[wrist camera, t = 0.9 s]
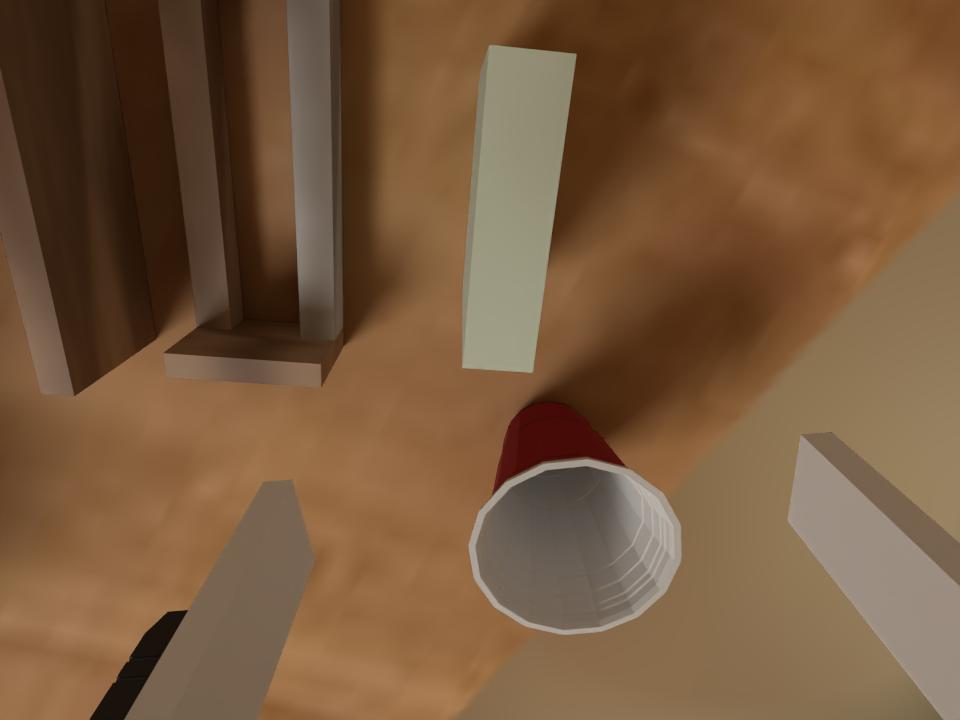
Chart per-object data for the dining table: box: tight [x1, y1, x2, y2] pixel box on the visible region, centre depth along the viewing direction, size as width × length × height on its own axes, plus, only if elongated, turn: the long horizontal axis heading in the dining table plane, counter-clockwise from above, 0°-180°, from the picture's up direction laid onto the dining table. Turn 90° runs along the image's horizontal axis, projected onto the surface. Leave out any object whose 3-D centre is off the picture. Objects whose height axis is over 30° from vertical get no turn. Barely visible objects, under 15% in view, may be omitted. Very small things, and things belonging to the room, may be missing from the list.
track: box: [0, 0, 343, 396], centre depth 27 cm, size 13×22×8 cm, turn 175°
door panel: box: [462, 45, 577, 373], centre depth 26 cm, size 3×12×12 cm, turn 175°
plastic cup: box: [468, 401, 681, 635], centre depth 33 cm, size 11×11×12 cm
